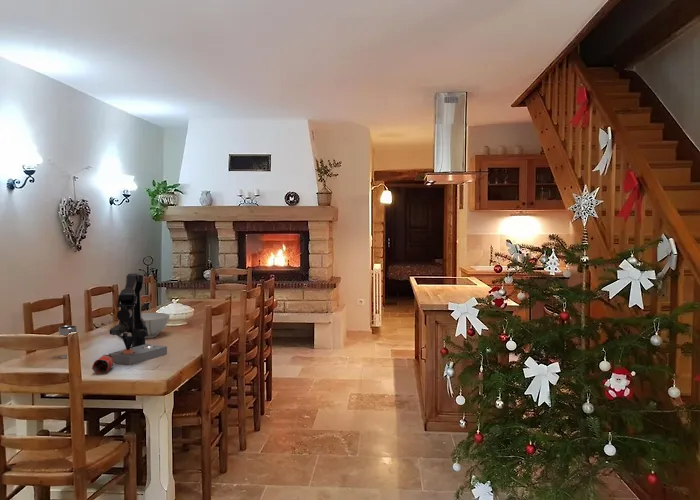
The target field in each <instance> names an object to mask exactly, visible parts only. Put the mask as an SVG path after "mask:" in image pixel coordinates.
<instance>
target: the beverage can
mask: <svg viewBox="0 0 700 500" xmlns="http://www.w3.org/2000/svg"><path fill="white" fill-rule="evenodd" d="M114 365H115V363H114V359H113V357H112V356H111V355H109V354H103V355H102V356H101V357H99V358H98V359H95V361H94V362H93V363H92V366H91V370H92V371H93V372H94V373H95V374H97V375H101V373H102V375H104V374H107V372H108V371H109V370H110V369H111V368H113V366H114Z"/></svg>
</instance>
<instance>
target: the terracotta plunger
mask: <svg viewBox="0 0 700 500" xmlns="http://www.w3.org/2000/svg"><path fill="white" fill-rule="evenodd" d="M122 350H123V354H131V353H133V349H129V350H127V349H126V348H125V349H122Z"/></svg>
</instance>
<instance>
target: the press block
mask: <svg viewBox="0 0 700 500" xmlns="http://www.w3.org/2000/svg"><path fill="white" fill-rule="evenodd" d="M148 345H152V346H153V348H150V349H145V348H144V346H148ZM130 349H133V353H131V354H123V350H124V349H122V350H118V351H115V352H111V353H108V355H111V356H112V357H113V359H114V364H120V365H127V366H132V365H136V364H138V363H143V362H146V361H148V360H152V359H154V358H155V359H156V358H159V357H162V356H165V355H168V346H166V345H158V344H149V343H145V344H144V345H140V346H137V347H133V348H130Z"/></svg>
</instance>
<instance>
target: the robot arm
mask: <svg viewBox="0 0 700 500" xmlns="http://www.w3.org/2000/svg"><path fill="white" fill-rule="evenodd" d="M125 280H126V281H125V286H124V289H122V290H121V291H120V292H119V294H118V295H117V296H118V297H117V304H116V307H117V308H120V310H118V311H117V313H116V317H117V319H118V324H117V325H114V326H113V327H111V328H110V329H109V335H112V336H117V337H118V338H120V339H122V341H123V344H124V346H125V349H127V350H129V349H130V348H133V347H137V346H140V345H144V344H146V338H145V337H146V336H148V330H147V327H146V325H145V321H144V320H143V319H142V317H141V313H142V296H141V295H142V294H141V292H142V289H144V284H145V280H146V279H145V277H144V275H143V274H142V275H141V274H139V273H135V272H134V273H132V272H131V273H127V275H126V279H125Z"/></svg>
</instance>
